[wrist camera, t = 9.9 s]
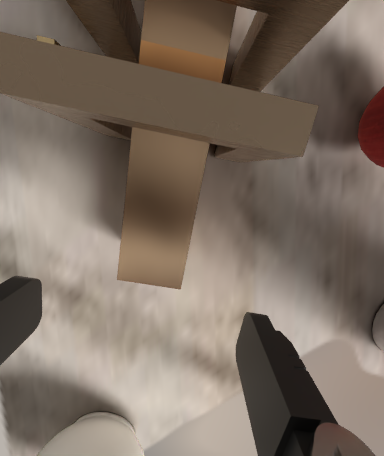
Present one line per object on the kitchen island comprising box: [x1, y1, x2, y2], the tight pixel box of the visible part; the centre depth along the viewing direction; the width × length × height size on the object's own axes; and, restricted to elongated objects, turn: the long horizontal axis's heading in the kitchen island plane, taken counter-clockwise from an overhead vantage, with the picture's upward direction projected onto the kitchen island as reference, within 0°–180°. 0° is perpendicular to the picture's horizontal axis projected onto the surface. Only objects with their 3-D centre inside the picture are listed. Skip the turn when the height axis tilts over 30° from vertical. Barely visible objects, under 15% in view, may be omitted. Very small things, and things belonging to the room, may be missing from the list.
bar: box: [117, 0, 237, 289], centre depth 13 cm, size 18×4×5 cm, turn 169°
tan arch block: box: [0, 0, 349, 162], centre depth 10 cm, size 12×6×9 cm, turn 79°
